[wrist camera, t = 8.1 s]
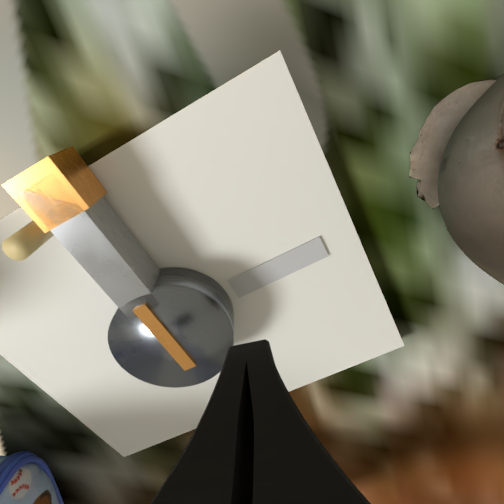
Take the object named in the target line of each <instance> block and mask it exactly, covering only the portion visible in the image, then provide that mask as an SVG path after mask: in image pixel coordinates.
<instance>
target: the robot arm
mask: <svg viewBox="0 0 504 504" xmlns="http://www.w3.org/2000/svg"><path fill="white" fill-rule="evenodd" d="M150 504H370V502H369V501H368V500H367V499H366V498H365V497H364V496H363V494H362V493H361V492H360V491H359V490H358V489H357V488H356V486H355V485H354V484H353V483H352V482H351V481H350V479H349V478H348V477H347V476H346V474H345V473H344V472H343V471H342V469H341V468H340V467H339V466H338V464H337V463H336V462H335V461H334V459H333V458H332V457H331V456H330V454H329V453H328V452H327V450H326V449H325V448H324V446H323V445H322V444H321V442H320V441H319V439H318V438H317V437H316V435H315V434H314V432H313V431H312V429H311V428H310V427H309V425H308V424H307V422H306V421H305V419H304V417H303V416H302V414H301V413H300V411H299V409H298V408H297V406H296V404H295V403H294V401H293V399H292V398H291V396H290V394H289V392H288V390H287V388H286V386H285V384H284V383H283V381H282V379H281V377H280V374H279V372H278V370H277V368H276V365H275V362H274V358H273V355H272V351H271V347H270V343H269V341H267V340H266V339H264V340H259V341H254V342H249V343H244V344H239V345H235V346H230V347H229V349H228V351H227V354H226V357H225V361H224V364H223V366H222V369H221V372H220V375H219V377H218V380H217V383H216V385H215V388H214V390H213V392H212V395H211V397H210V400H209V402H208V404H207V407H206V409H205V411H204V413H203V415H202V417H201V419H200V421H199V423H198V425H197V427H196V429H195V431H194V433H193V435H192V437H191V439H190V441H189V443H188V445H187V446H186V448H185V450H184V452H183V453H182V455H181V457H180V459H179V460H178V462H177V463H176V465H175V467H174V468H173V470H172V471H171V473H170V475H169V476H168V478H167V479H166V481H165V483H164V484H163V486H162V487H161V489H160V490H159V492H158V493H157V495H156V496H155V498H154V499H153V500H152V502H151V503H150Z"/></svg>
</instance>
